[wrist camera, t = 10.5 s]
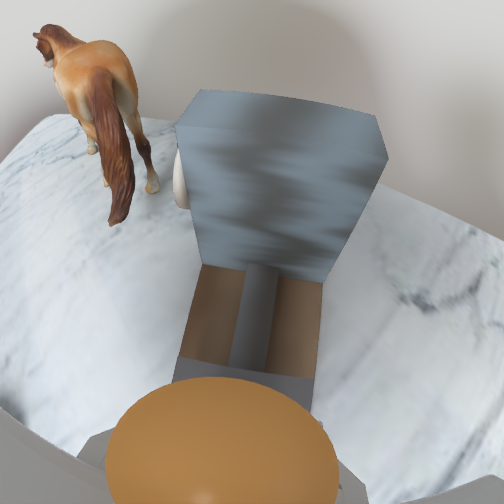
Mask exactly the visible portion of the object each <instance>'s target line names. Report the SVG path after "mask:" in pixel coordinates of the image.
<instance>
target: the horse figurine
mask: <svg viewBox="0 0 504 504" xmlns="http://www.w3.org/2000/svg"><path fill="white" fill-rule="evenodd" d="M33 36H34V37H35V38H37V39H38V42H37V46H36V48H37V49H38V50H39V51H40V52H41V53H42V54H43V57H44V66H47V67H48V68H51V67H53V68H54V82H55V84H56V88H57V90H58V92H59V94H60V95H61V97H63V98H64V99H65V102H66V104H67V106H68V109H69V111H70V113H71V115H72V116H73V117H74V118H76V119H78V121H79V123H80V125H81V126H82V128H83V130H84V132H85V133H86V134H87V141H88V144H89V146H88V154H90V155H92V154H95V153H96V152H97V148H96V145H95V141H96V143H97V144H98V146H99V152H100V156H101V164H102V165H101V172H102V174H103V181H104V186H105V187H108V186H110V187H111V189H112V206H111V213H110V216H109V219H108V222H109V226H110V227H112V226H113V225H115V224H118V223H121V222H122V221H124V220H125V219H126V217H127V215H128V213H129V209H130V205H131V201H132V196H133V193H134V190H135V174H134V165H133V161H132V159H131V148H130V143H129V139H128V137H127V134H126V129H125V127H124V122H125V123H126V125H127V126H128V128H129V130H130V131H131V133H132V134H133V136H134V139H135V143H136V147H137V150H138V152H139V154H140V155H141V156H142V158H143V159H144V162H145V165H146V168H147V178H148V181H147V184H146V188H145V189H146V192H148V193H150V194H152V193H155V192H157V191H159V190H160V185H159V182H158V175H157V174H156V172H155V171H154V168H153V165H152V161H151V147H150V144H149V141H148V140H147V139H146V137H145V136H144V134H143V130H142V124H141V119H140V115H139V113H138V110H137V106H138V88H137V84H136V80H135V77H134V73H133V70H132V67H131V64H130V62H129V60H128V58H127V57H126V55H125V54H124V52H123V51H122V50H121V49H120V48H119V47H118V46H117V45H116V44H114V43H112V42H109V41H105V40H98V41H93V42H89V43H86V42H84V41H81V40H79V39H77V38H75V37H73V36H72V35H71V34H70V33H68V32H67V31H66V30H65V29H64V28H62V27H61V26H58V25H52V24H47V25H45V26H43V27H42V28H41V30H40V33H33ZM121 116H122V117H123V119H124V122H123V119H122V117H121Z"/></svg>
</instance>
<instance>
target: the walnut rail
mask: <svg viewBox="0 0 504 504" xmlns="http://www.w3.org/2000/svg"><path fill="white" fill-rule="evenodd" d="M175 131H176V137H177V147H178V151H177V154H176V158H175V164H174V171H173V191H174V197H175V201H176V203H177V205H178V207H179V208H181V209H189V210H191V215H192V220H193V224H194V229H195V233H196V238H197V242H198V247H199V251H200V255H201V260H202V268H201V271H200V275H199V279H198V282H197V286H196V290H195V293H194V297H193V301H192V305H191V308H190V312H189V316H188V320H187V324H186V328H185V332H184V336H183V340H182V344H181V348H180V352H179V356H180V357H185V358H189V359H193V360H198V361H202V362H207V363H212V364H217V365H222V366H227V367H233V368H238V369H244V370H250V371H256V372H263V373H270V374H277V375H285V376H293V377H302V378H312V379H315V370H316V361H317V351H318V341H319V329H320V317H321V303H322V286H323V282H324V280H325V279H326V277H327V275H328V273H329V272H330V270H331V268H332V267H333V265H334V263H335V261H336V260H337V258H338V256H339V254H340V253H341V251H342V249H343V247H344V245H345V244H346V242H347V240H348V238H349V236H350V234H351V233H352V231H353V229H354V227H355V225H356V223H357V221H358V220H359V218H360V216H361V214H362V212H363V210H364V208H365V206H366V204H367V202H368V200H369V198H370V196H371V194H372V192H373V190H374V188H375V186H376V184H377V182H378V180H379V178H380V176H381V174H382V171H383V170H384V167H385V165H386V163H387V161H388V155H387V151H386V148H385V144H384V141H383V138H382V135H381V132H380V129H379V126H378V123H377V120H376V117H375V116H374V115H370V114H367V113H363V112H359V111H355V110H351V109H347V108H342V107H338V106H333V105H329V104H324V103H319V102H313V101H307V100H302V99H296V98H289V97H283V96H275V95H267V94H258V93H247V92H236V91H219V90H200V91H199V92H198V93H197V95H196V96H195V97H194V99H193V100H192V101H191V103H190V104H189V106H188V107H187V109H186V110H185V111H184V113H183V115H182V116H181V117H180V119H179V121H178V122H177V123H176V125H175Z"/></svg>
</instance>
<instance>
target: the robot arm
mask: <svg viewBox="0 0 504 504" xmlns="http://www.w3.org/2000/svg"><path fill="white" fill-rule="evenodd" d="M318 423H319V424H320V425H321V427H322V428H323V425H322V422H321V421H318ZM114 428H115V427H114ZM114 428H112V429H109V430H107V431H104V432H102V433H99V434H97V435H94V436H92V437H90V438H89V440H88V441H87V443H86V444H85V445H84V447H83V448H82V450H81V451H80V453H79V454H78V456H77V457H74V456H72V455H71V454H69V453H67V452H65V451H63V450H62V449H60V448H58V447H57V446H55V445H53V444H52V443H50V442H48V441H47V440H45V439H44V438H42V437H41V436H39V435H37V434H36V433H34V432H33V431H32V430H30V429H29V428H27V427H26V426H24V425H23V424H22V423H20V422H19V421H18V420H16V419H15V418H14V417H12V416H11V415H10V414H8V413H7V412H6V411H5V410H3V409H2V408H1V407H0V504H115V503H114V501H113V498H112V495H111V493H110V490H109V487H108V482H107V478H106V466H105V463H106V452H107V448H108V444H109V440H110V438H111V435H112V433H113V430H114ZM337 461H338V467H339V488H338V494H337V498H336V501H335V504H369V503H368V497H367V492H366V487H365V484H363V483H362V482H361V481H360V480H359V479H358V478H357V477H356V476H355V475H354V474H353V473H352V472H351V471H350V470H348V469H347V468H346V467H345V466H344V465H343V464H342V463H341V462H340V461H339V460H338V459H337ZM400 504H504V480H503V479H501V478H499V477H497V476H495V475H491V474H490V475H486V476H483V477H481V478H479V479H476V480H474V481H471V482H469V483H466V484H464V485H461V486H459V487H456V488H453V489H450V490H447V491H444V492H441V493H438V494H435V495H431V496H428V497H424V498H421V499H417V500H413V501H409V502H405V503H400Z"/></svg>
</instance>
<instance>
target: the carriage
mask: <svg viewBox="0 0 504 504" xmlns="http://www.w3.org/2000/svg"><path fill="white" fill-rule="evenodd" d="M313 387H314V379H312V378H302V377H293V376H285V375H277V374H270V373H263V372H256V371H250V370H244V369H238V368H233V367H227V366H222V365H217V364H212V363H207V362H202V361H198V360H193V359H189V358H185V357H180V356H178V357H177V362H176V366H175V370H174V375H173V379H172V383H171V384H168V385H165V386H163V387H161V388H158V389H156V390H154V391H152V392H150V393H149V394H147V395H146V396H144V397H143V398H141V399H140V400H138V401H137V402H136V403H135V404H134V405H133V406H131V407H130V408H129V409H128V410H127V412H126V413H125V414H124V415H123V416H122V417H121V419H120V420H119V422H118V424H117V425H116V427H115V428H114V430H113V433H112V435H111V438H110V440H109V444H108V448H107V452H106V463H105V466H106V478H107V482H108V487H109V490H110V493H111V495H112V498H113V501H114V503H115V504H335V501H336V498H337V494H338V488H339V467H338V461H337V456H336V453H335V451H334V448H333V445H332V443H331V441H330V439H329V437H328V435H327V434H326V432H325V431H324V429H323V428H322V427H321V425H320V424H319V423H318V421H317V420H316V419H315V418H314V417H313V416H312V415H311V414H310V410H311V402H312V395H313Z"/></svg>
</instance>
